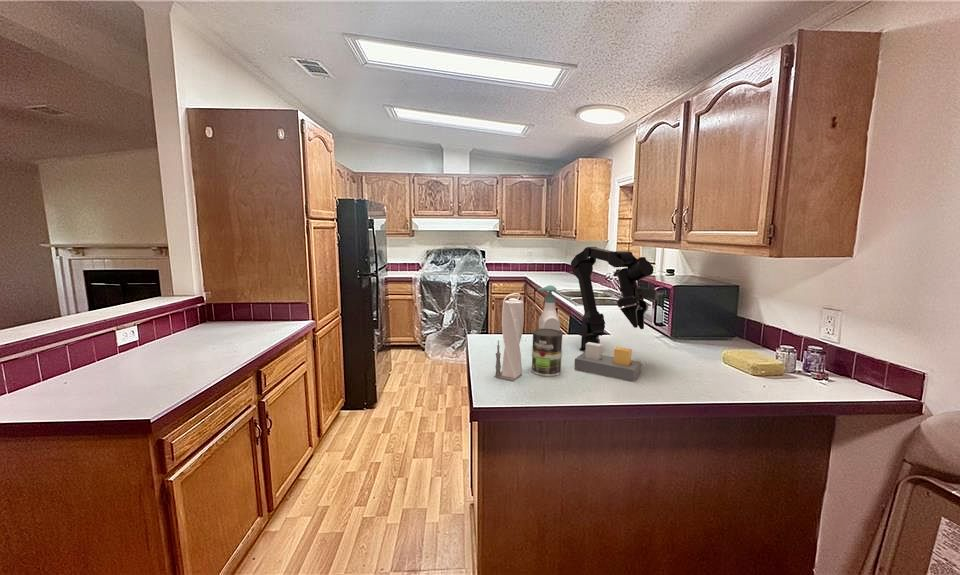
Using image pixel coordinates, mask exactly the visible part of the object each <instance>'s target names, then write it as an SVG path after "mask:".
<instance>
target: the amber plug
mask: <svg viewBox="0 0 960 575" xmlns="http://www.w3.org/2000/svg"><path fill="white" fill-rule="evenodd" d="M613 350H614V352H613V357H614V363H615V364H621V365H626V366H630V365H631V360H632V353H633V352H632V351H633V349H632V348H627V347H622V346H616V347H615V348H614V349H613Z"/></svg>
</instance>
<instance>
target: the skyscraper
mask: <svg viewBox="0 0 960 575" xmlns="http://www.w3.org/2000/svg"><path fill="white" fill-rule="evenodd" d="M513 295H518V296H517V298H509V297H510V296H513ZM520 297H521V293H519V292H513V293H509V294H506V296H505V297H504V299H503V301H502V309H501V310H502V312H501V315H502V316H501V330H502V339H503V344H504V348H503V357H502V365H501V352H500V346H501V345H500V340H497V345H496V347H497V350H496V353H495V361H496V362H495V375H494V377H493V378H495V377H496V379H500V378H501V379H500V380H504V379H505V381H510V382H515V381H517V379H519V378H521V376H522V375H523V366H522V365H523V364H522V353H521V345H520V343H521V340H522V336H523V330H524V320H525V319H524V318H525V316H524V314H525V310H524V309H525V308H524V301H523V300H519V299H520ZM507 298H509V299H508V300H507Z"/></svg>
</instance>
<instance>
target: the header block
mask: <svg viewBox="0 0 960 575" xmlns="http://www.w3.org/2000/svg"><path fill="white" fill-rule="evenodd" d="M641 366H642V362H641V361H639V360H632V359H631V365H630V366H626V365H621V364H615V363H614V356H610V355H605V354H602V359H601V360H600V361H599V360H594V359H589V358H585V351H583V352H582V353H581V354H579V355H578V356H576V357H575V358H574V370H575V371H580V372H583V373H589V374H593V375H597V376H603V377H606V378H607V377H609V378H611V379H617V380H622V381H627V382H632V383H634V382H635V381H636V379H637V378H638V377H639V376H640V375H641V368H642V367H641Z"/></svg>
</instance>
